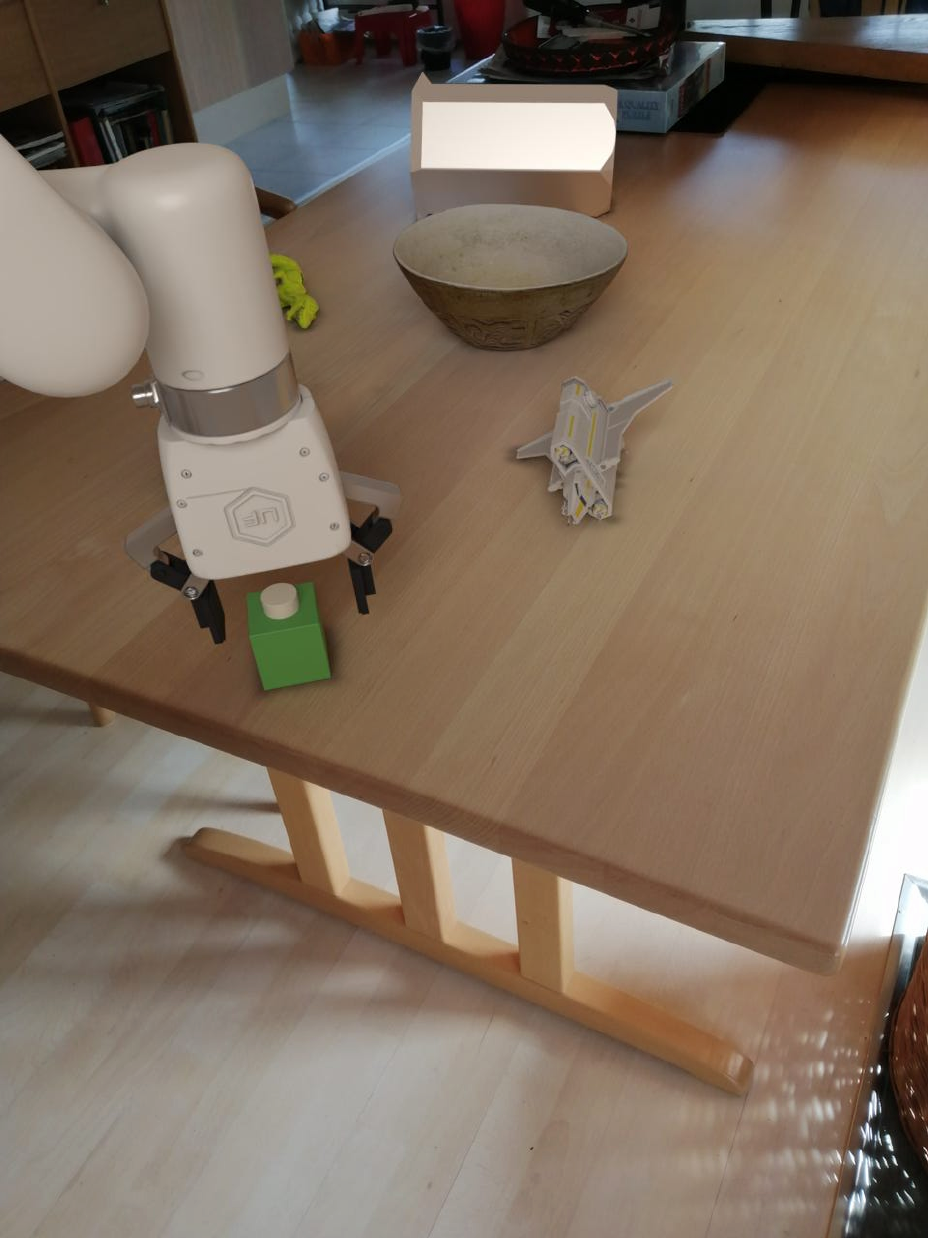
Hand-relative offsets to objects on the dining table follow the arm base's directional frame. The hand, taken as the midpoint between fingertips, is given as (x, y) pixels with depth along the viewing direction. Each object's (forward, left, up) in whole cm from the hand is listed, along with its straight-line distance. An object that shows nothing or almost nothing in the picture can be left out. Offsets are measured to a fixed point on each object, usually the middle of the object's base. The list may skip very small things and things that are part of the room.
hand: (291, 616), depth 67 cm
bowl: (+26, +46, -4) cm, 53 cm away
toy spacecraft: (+24, +13, -4) cm, 28 cm away
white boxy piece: (+35, +81, -4) cm, 88 cm away
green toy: (-1, 0, -4) cm, 4 cm away
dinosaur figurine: (+2, +64, -4) cm, 64 cm away
